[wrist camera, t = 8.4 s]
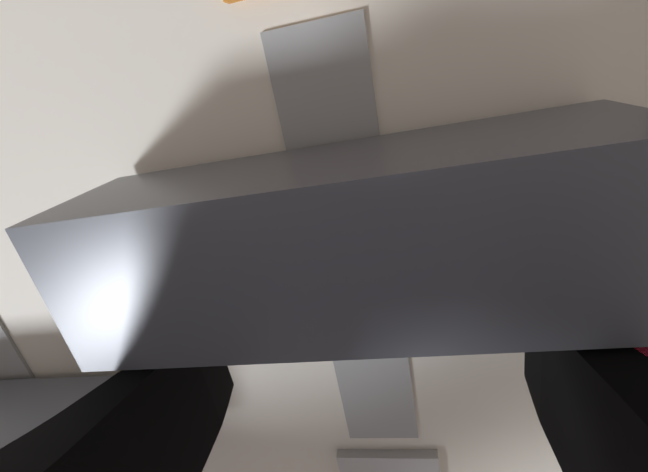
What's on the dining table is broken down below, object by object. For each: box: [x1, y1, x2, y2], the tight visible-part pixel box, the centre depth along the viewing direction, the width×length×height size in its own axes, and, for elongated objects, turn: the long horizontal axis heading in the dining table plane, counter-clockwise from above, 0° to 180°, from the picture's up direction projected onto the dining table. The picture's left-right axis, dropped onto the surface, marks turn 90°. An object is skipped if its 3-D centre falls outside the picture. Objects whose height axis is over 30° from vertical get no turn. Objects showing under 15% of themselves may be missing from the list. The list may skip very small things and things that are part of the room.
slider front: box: [5, 99, 648, 372], centre depth 7 cm, size 3×10×3 cm, turn 101°
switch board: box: [0, 0, 648, 472], centre depth 11 cm, size 18×24×1 cm
